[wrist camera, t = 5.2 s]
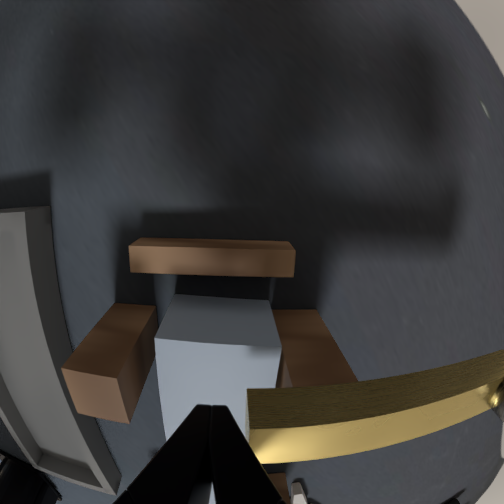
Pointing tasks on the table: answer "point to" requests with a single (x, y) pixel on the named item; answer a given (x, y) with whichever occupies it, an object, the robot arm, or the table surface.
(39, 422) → the tray
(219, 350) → the peg
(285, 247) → the brown wooden stand
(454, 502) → the flashlight
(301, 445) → the bar
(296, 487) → the pliers
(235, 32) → the table surface
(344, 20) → the table surface
